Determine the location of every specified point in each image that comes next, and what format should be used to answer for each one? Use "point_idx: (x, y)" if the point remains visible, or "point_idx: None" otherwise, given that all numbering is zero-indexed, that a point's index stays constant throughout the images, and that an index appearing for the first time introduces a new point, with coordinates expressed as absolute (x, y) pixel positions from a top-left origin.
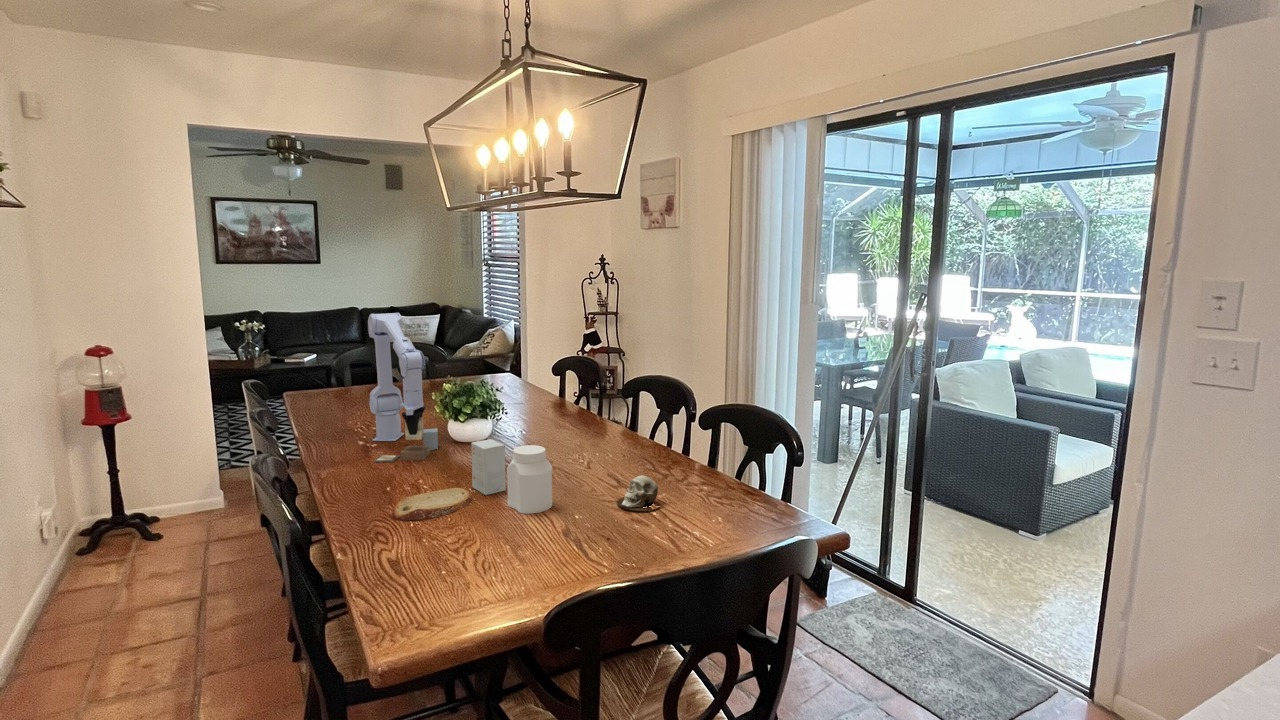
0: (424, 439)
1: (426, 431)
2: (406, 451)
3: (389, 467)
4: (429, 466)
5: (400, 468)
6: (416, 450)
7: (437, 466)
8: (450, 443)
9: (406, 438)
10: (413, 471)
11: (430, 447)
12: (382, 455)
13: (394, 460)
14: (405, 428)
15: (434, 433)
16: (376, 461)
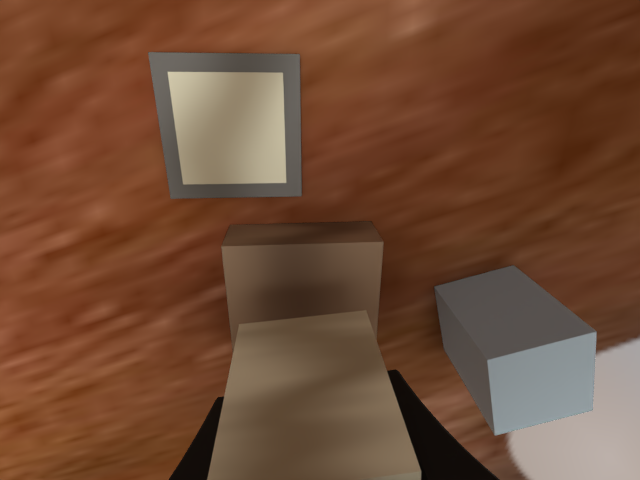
0: (463, 333)
1: (521, 371)
2: (239, 280)
3: (71, 205)
4: (142, 396)
5: (70, 275)
6: None
7: (150, 426)
8: None
9: (238, 337)
10: (40, 354)
11: (444, 327)
12: (283, 75)
13: (195, 197)
14: (224, 408)
15: (488, 413)
16: (152, 75)
